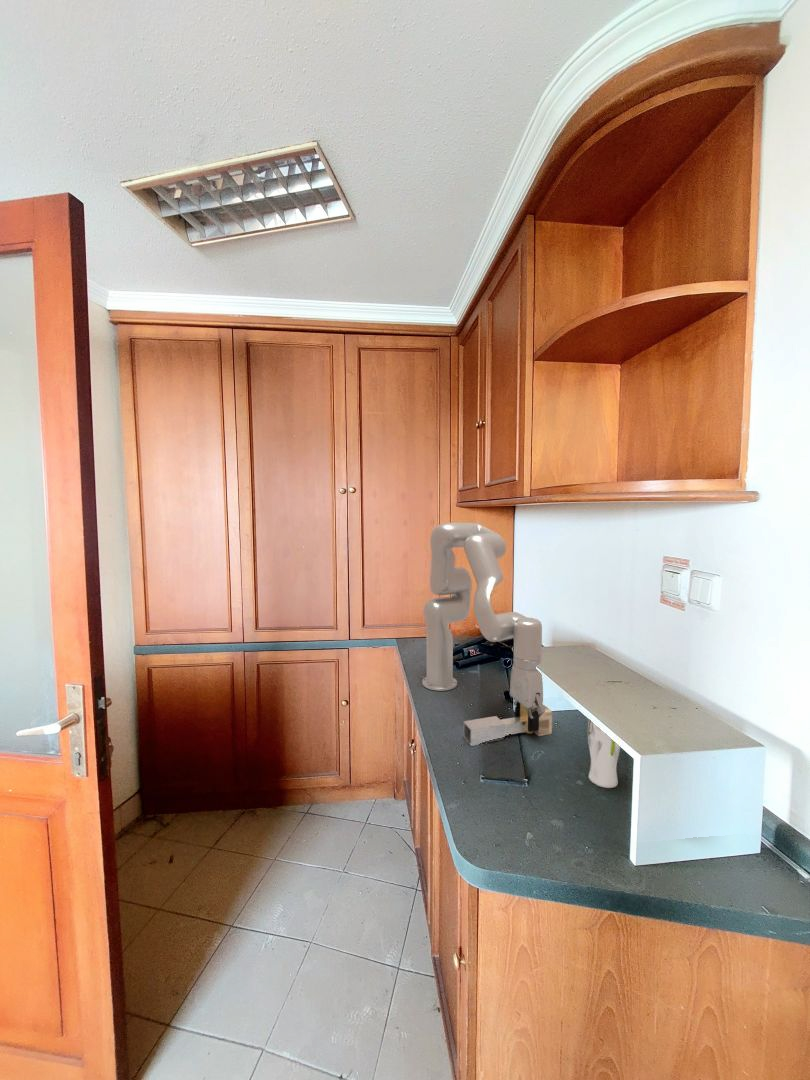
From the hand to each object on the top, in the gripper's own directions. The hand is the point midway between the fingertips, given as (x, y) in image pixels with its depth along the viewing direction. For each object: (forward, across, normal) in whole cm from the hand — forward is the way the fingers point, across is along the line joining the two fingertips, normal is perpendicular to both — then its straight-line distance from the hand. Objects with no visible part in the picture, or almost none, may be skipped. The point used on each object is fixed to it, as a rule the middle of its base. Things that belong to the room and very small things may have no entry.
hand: (526, 724), depth 117 cm
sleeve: (+2, 0, -13) cm, 14 cm away
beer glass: (+2, +24, +5) cm, 25 cm away
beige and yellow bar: (+2, 0, -3) cm, 4 cm away
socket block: (+2, 0, +4) cm, 4 cm away
